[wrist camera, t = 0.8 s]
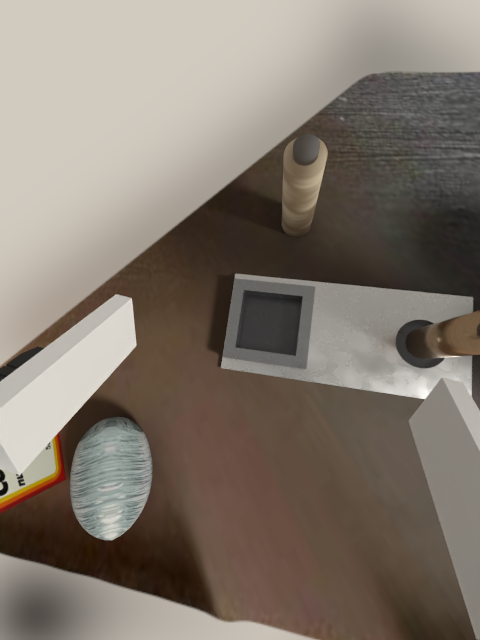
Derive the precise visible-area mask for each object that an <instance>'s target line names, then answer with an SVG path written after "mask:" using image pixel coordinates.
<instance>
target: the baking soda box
mask: <svg viewBox="0 0 480 640" xmlns="http://www.w3.org/2000/svg"><path fill="white" fill-rule="evenodd" d="M64 480H66V477H65V470H64V463H63V457H62V450H61V443H60V436H59V432H58V434H57V435H56V436H55V437H54V438H53V439H52V440H51V441H50V442H49V444H48V445H47V446H46V447H45V448H44V449H43V450H42V451H41V452H40V454H39V455H38V456H37V457H36V458H35V459H34V460H33V461H32V462H31V464H30V465H29V466H28V467H27V468H26V469H25V470H24V471H23V472H22V474H21V475H18V474H15V473H12V472H9V471H7V470H4V469H1V468H0V513H2V512H4V511H6V510H8V509H10V508H12V507H14V506H15V505H17V504H19V503H21V502H23V501H25V500H27V499H29V498H31V497H33V496H35V495H37V494H39V493H41V492H43V491H44V490H46V489H48V488H50V487H52V486H54V485H56V484H58V483H60V482H62V481H64Z"/></svg>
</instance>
